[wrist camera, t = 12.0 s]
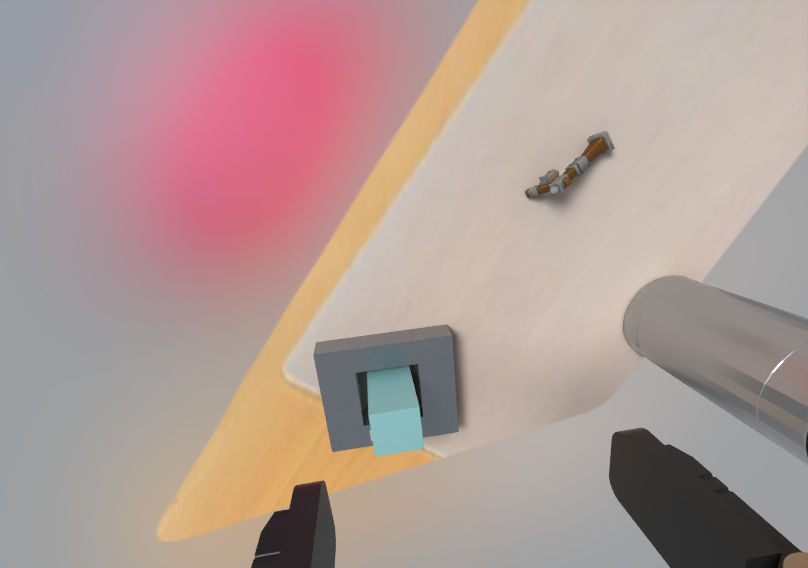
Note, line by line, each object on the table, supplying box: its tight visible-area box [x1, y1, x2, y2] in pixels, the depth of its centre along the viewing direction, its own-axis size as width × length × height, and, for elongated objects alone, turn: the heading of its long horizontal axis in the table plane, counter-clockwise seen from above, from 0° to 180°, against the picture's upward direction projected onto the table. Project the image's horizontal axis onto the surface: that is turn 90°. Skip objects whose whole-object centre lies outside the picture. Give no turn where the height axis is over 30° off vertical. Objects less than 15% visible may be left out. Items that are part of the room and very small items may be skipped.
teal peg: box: [367, 365, 424, 457], centre depth 35 cm, size 4×4×8 cm
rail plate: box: [314, 325, 459, 452], centre depth 37 cm, size 13×11×3 cm
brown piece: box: [525, 131, 615, 197], centre depth 33 cm, size 2×8×4 cm, turn 125°
